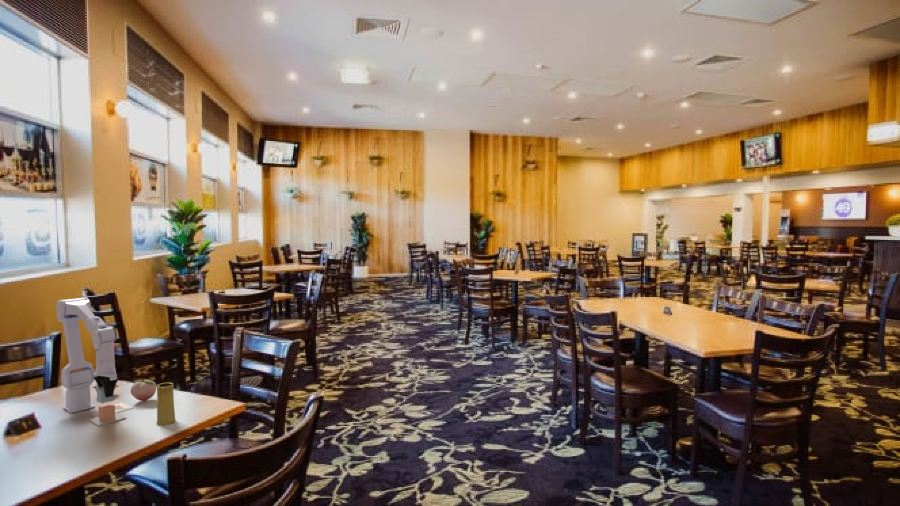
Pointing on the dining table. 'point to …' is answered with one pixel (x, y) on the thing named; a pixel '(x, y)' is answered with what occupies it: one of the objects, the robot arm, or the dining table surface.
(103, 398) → the brick blue
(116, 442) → the dining table surface
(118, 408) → the card
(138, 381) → the decorative fruit
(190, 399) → the dining table surface
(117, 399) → the dining table surface
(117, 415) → the plate
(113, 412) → the brick terracotta
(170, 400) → the vase
